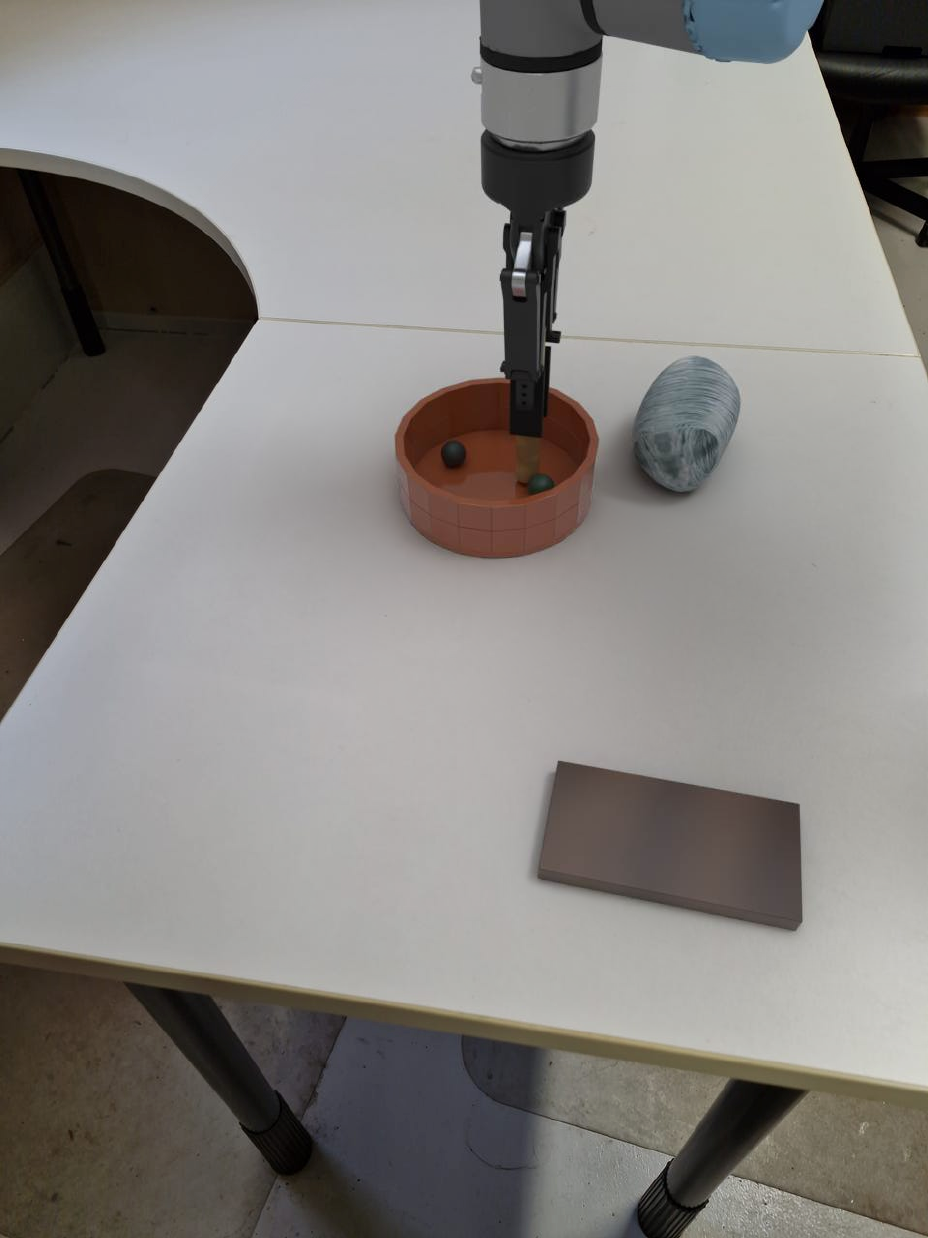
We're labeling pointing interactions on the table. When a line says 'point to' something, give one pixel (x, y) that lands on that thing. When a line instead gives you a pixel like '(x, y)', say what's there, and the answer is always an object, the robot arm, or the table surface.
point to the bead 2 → (540, 484)
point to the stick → (528, 451)
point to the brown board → (675, 844)
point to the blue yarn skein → (686, 422)
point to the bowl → (493, 471)
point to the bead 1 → (453, 453)
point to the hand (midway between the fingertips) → (529, 422)
